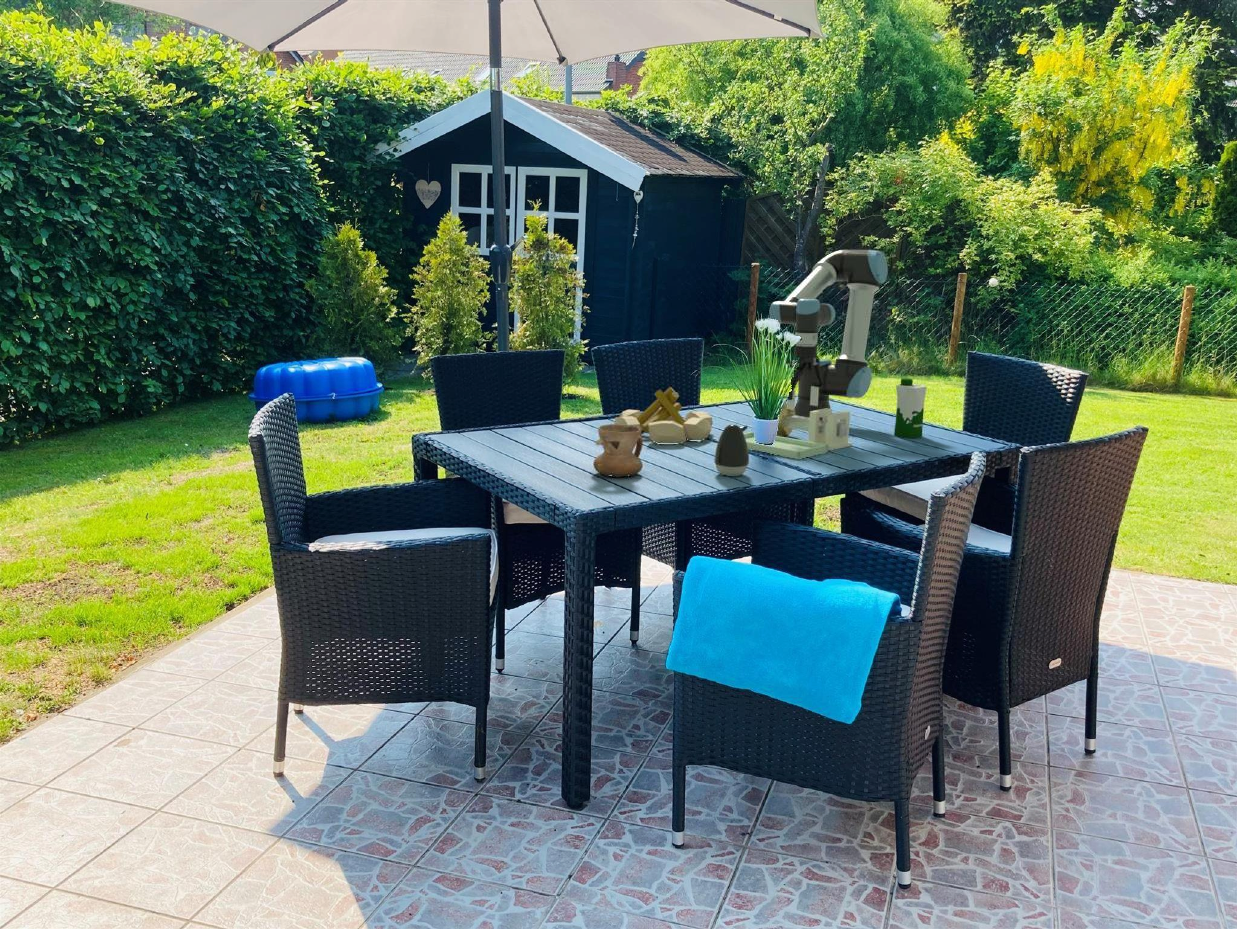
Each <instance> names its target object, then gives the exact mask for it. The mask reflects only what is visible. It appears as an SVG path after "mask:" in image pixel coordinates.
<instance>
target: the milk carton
mask: <svg viewBox="0 0 1237 929" xmlns="http://www.w3.org/2000/svg"><path fill="white" fill-rule="evenodd" d="M913 382H914V380H913V379H912V378H906V377H905V378H901V379H900V384H897V385H896V386H895V389H896V409H895V411H896V413H895V424H894V432H893V436H894V435H895V436H894V437H901V438H905V439H910V438H911V439H916V438H920V437H923V427H924V410H925V400H926V393H927V388H928V386H926V385H921V384H914V383H913Z"/></svg>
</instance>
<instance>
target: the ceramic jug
mask: <svg viewBox="0 0 1237 929" xmlns="http://www.w3.org/2000/svg"><path fill="white" fill-rule="evenodd" d="M597 432H598V437H599V439H597V440H596V441H595V445H596V446H602V448H603V452H602V453H601V454H599V455H598V456H596V457H595V458H594V460H593V468H594V470H595V471H596V472H597V473H598V474H600V473H601V475H603V474H604V475H603V476H606V475H612V476H627V477H629V476H628V475H632V476H635V475H636V474H638V473H640V472H641V471H642V469H643V465H644V464H643V461H642V460H641V459H640V458H639V457H640V455H641V451H642V449H643V442H644V441H643V438H642V436H641V434H640V428H639V427H637V426H634V425H626V424H614V423H610V424H602V425H600V426H598V427H597ZM639 434H640V435H639ZM633 451H634V452H633ZM634 474H635V475H634Z"/></svg>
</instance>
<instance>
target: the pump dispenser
mask: <svg viewBox="0 0 1237 929" xmlns="http://www.w3.org/2000/svg"><path fill="white" fill-rule="evenodd" d="M747 429H748V426H747V425H744V426H743V425H742V426H741V427H740V426H739V425H737V424H733V423H732V424H728V425H726V427H724V429H723V430H722V432H721V434H720V436H719V438H718V441H717V444H716V449H715V453H714V462H713V463H714V464H715V467H716V470H717V471H718V473H719V474H720V473H721V474H720V475H722V476H724V475H727V476H726V477H729V476H736V477H739V475H740V476H741V475H743V474H745V472H747V469H748V466H749V464H750V455H749V450H748V447H747V443H746V439H745V436H744V434H743V433H744V431H746V430H747Z"/></svg>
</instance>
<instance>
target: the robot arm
mask: <svg viewBox="0 0 1237 929" xmlns="http://www.w3.org/2000/svg"><path fill="white" fill-rule="evenodd" d="M887 261H888V260H887V258H886V256H885V254H884V253H883V252H882V251H880V250H873V249H839V250H836V251H833V252H831V253H829V254H827V255H826V256H824V257H823V258H821V259H820V260H819V261H817V263H815V264H814V266H813V267H812V271H811V272H810V273H809V275H807V276H806V277H805V278H804V280H802V281H801V282H800V284H798V285H797V287H796V288H794V290H792V292H791V293H789V295H788V296H787V297H786V298H785V299H784V300H783V301H782V300H778V301H773V302H772V303H771V305H770V307H769V318H770V320H771V319H776V320H778V321H779V323H778V324H785V325H786V324H788V325H795V332H794V333H795V334H794V337H795V336H800V337H801V338H802V340H801V341H799V342H797V343H796V344H795V345H794V349H793V350H794V353H793V354H794V355H793V356H794V357H796V360H792V359H791V360H790V362H789V368H790V367H792V366H793V365H794V364H795V363H796V362H797V360H798V358H799V357H800V355H801V358H800V361H799V363H798V365H797V368H796V370H794V377H792V379H791V385H792V386H791V387H792V388H791V389H792V391H791V392H789V397H788V399H787V398H786V403H787V409H791V410H795V415H796V416H802V417H809V418H810V411H815V410H820V409H825V408H828V409H832V408H831V403H830V396H834V397H843V398H849V399H852V398H855V399H860V398H862V397H864V396H865V395H866V394H867V393H868V390H869V389H870V386H871V384H872V378H873V375H872V374H873V373H872V369H871V368H870V367H869V366H868V364H869V362H868V361H867V359H866V358H865V356H866V355H865V354H866V349H867V342H868V338H869V330H870V323H871V317H872V309H873V303H874V295H875V293H876V292H877V291H878V290H880V285H881V284H884V283H885V282H886V280H887V278H888V271H889V270H888V262H887ZM836 282H847V283H846V286H847V287H848V289H849V299H848V305H847V310H846V311H847V312H846V317H845V318H846V319H845V326H844V330H843V338H842V345H841V351H840V355H838V357H836V358H835V363H832V359H830V358H829V359H826V358H825V359H822V358H821V359H820V358H817V356H818V354H817V353H818V347H817V345H818V339H819V338H818V334H819V327H826V326H828V325H831V324H832V323H833V322H834V320H835V318H836V315H837V314H836V310H835V308H834V306H833V305H831V304H830V303H824V302H820V300H819V299H817V297H819V295H820V294H821V293H823V290H825V289H826V288H827V287H829V286H831V285H833V284H835V283H836ZM797 385H798V386H797ZM796 387H798V388H797V401H796V390H795V388H796ZM819 419H821V420H822V417H820V418H819Z"/></svg>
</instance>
